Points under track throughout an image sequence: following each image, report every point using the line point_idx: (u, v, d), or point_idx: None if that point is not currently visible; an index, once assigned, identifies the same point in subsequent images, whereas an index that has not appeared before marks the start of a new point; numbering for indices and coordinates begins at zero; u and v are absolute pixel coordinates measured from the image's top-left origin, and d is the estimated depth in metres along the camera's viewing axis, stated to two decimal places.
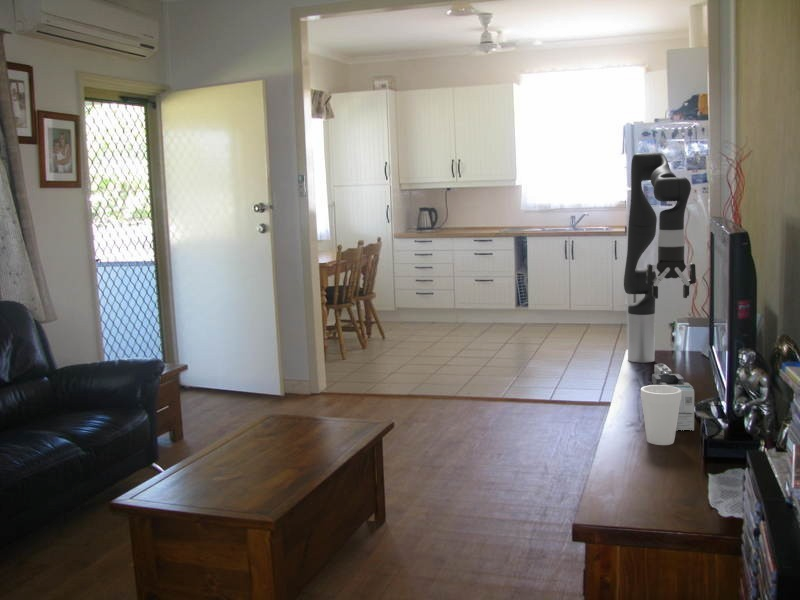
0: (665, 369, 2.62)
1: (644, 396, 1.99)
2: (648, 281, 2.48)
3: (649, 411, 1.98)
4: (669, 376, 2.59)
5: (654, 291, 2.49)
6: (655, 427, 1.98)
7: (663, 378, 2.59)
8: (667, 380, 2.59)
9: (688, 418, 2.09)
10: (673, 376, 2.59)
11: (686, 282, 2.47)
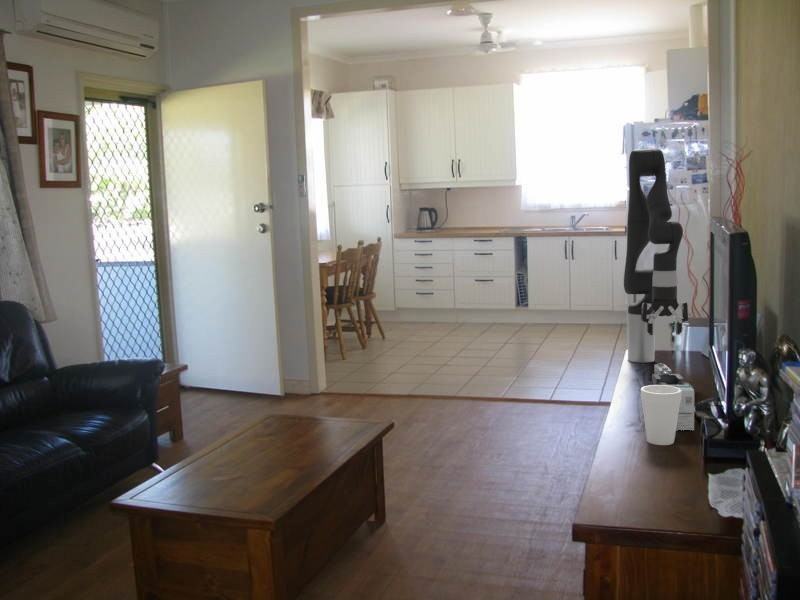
0: (665, 369, 2.62)
1: (644, 396, 1.99)
2: (643, 319, 2.64)
3: (649, 411, 1.98)
4: (669, 376, 2.59)
5: (649, 328, 2.64)
6: (655, 427, 1.98)
7: (663, 378, 2.59)
8: (667, 380, 2.59)
9: (688, 418, 2.09)
10: (673, 376, 2.59)
11: (679, 320, 2.63)
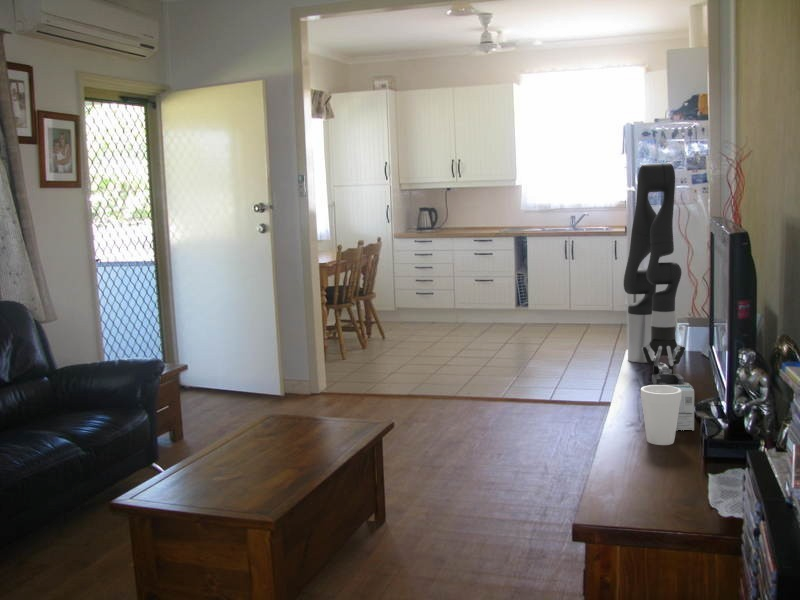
0: (665, 368, 2.62)
1: (644, 396, 1.99)
2: (649, 361, 2.65)
3: (649, 411, 1.98)
4: (669, 376, 2.59)
5: (655, 370, 2.66)
6: (655, 427, 1.98)
7: (663, 378, 2.59)
8: (667, 380, 2.59)
9: (688, 418, 2.09)
10: (673, 376, 2.59)
11: (670, 363, 2.65)
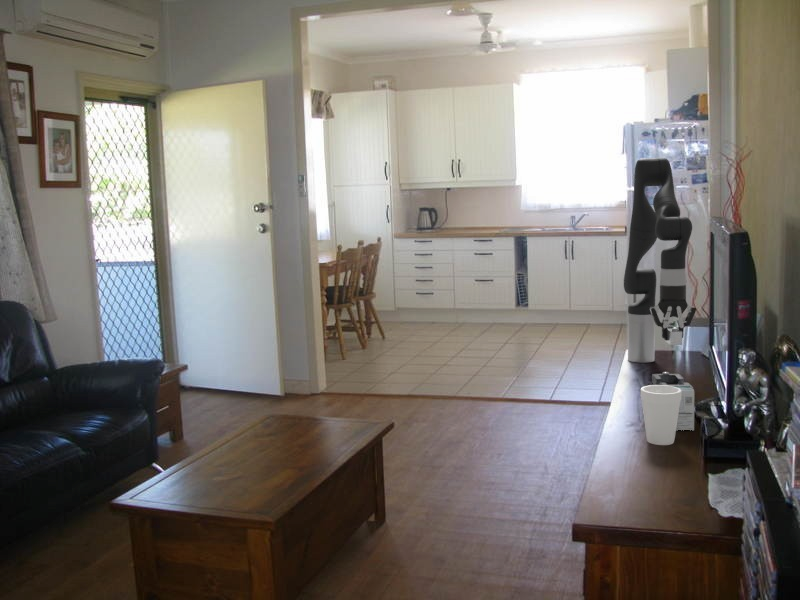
0: (675, 330, 2.45)
1: (644, 396, 1.99)
2: (658, 323, 2.48)
3: (649, 411, 1.98)
4: (669, 376, 2.59)
5: (664, 333, 2.49)
6: (655, 427, 1.98)
7: (663, 378, 2.59)
8: (667, 380, 2.59)
9: (688, 418, 2.09)
10: (673, 376, 2.59)
11: (680, 324, 2.48)
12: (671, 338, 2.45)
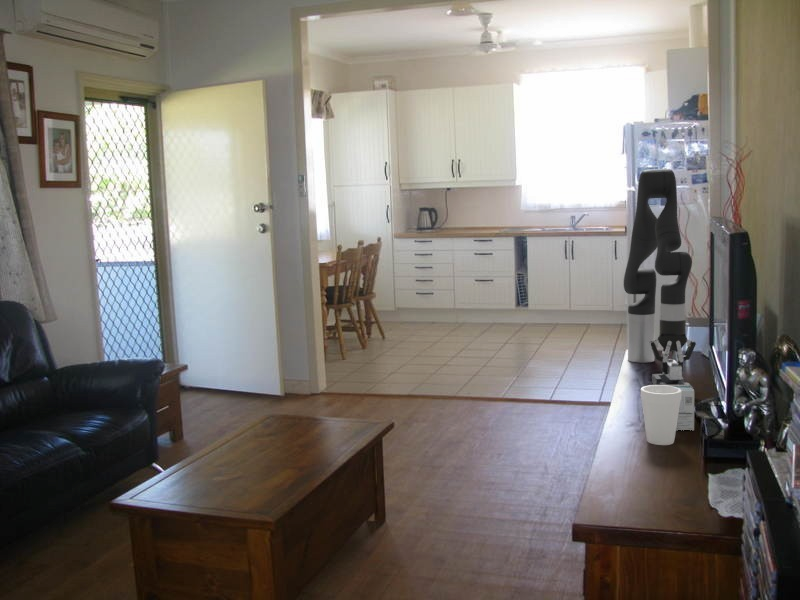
0: (675, 365, 2.47)
1: (644, 396, 1.99)
2: (657, 357, 2.50)
3: (649, 411, 1.98)
4: None
5: (663, 367, 2.50)
6: (655, 427, 1.98)
7: (663, 378, 2.59)
8: (667, 380, 2.59)
9: (688, 418, 2.09)
10: None
11: (680, 359, 2.49)
12: (671, 373, 2.46)
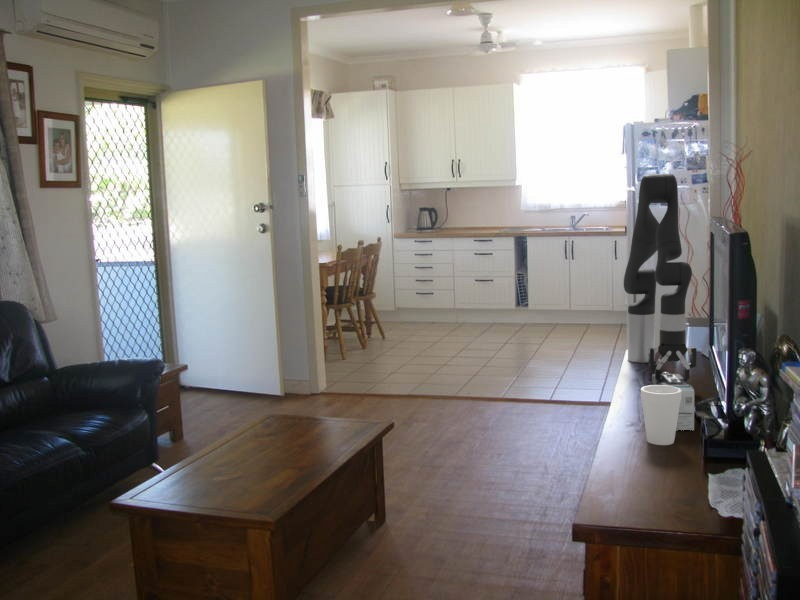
0: (674, 380, 2.47)
1: (644, 396, 1.99)
2: (651, 365, 2.50)
3: (649, 411, 1.98)
4: None
5: (657, 374, 2.51)
6: (655, 427, 1.98)
7: None
8: None
9: (688, 418, 2.09)
10: None
11: (686, 366, 2.49)
12: None
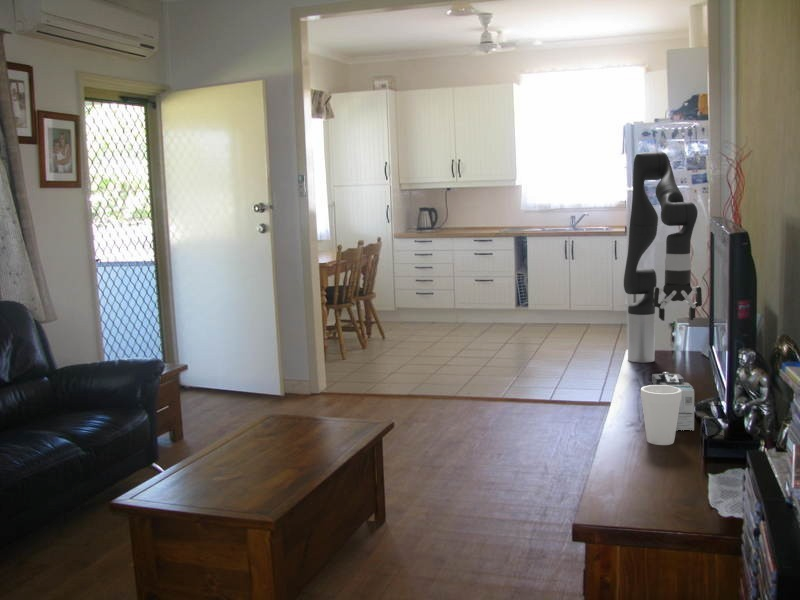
0: (672, 380, 2.47)
1: (644, 396, 1.99)
2: (655, 304, 2.53)
3: (649, 411, 1.98)
4: None
5: (661, 313, 2.54)
6: (655, 427, 1.98)
7: (663, 378, 2.59)
8: None
9: (688, 418, 2.09)
10: None
11: (692, 305, 2.52)
12: None
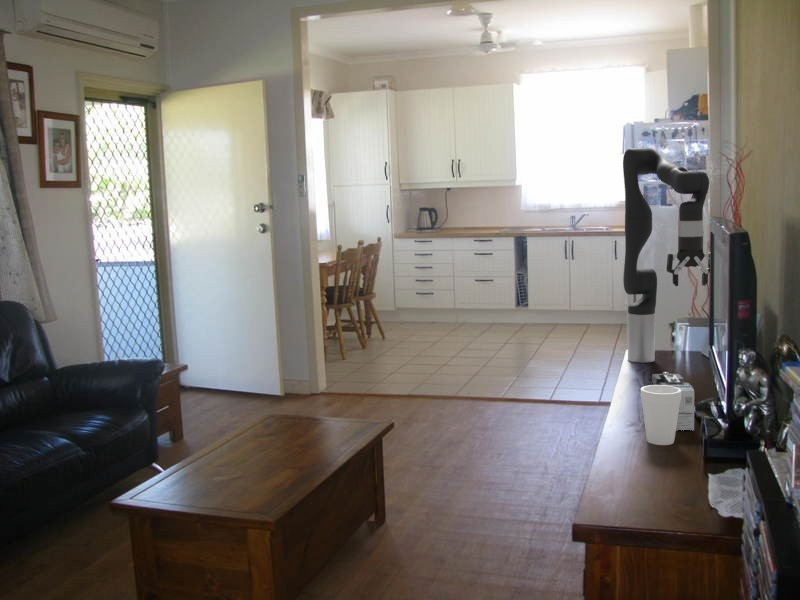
0: (674, 380, 2.47)
1: (644, 396, 1.99)
2: (669, 269, 2.62)
3: (649, 411, 1.98)
4: None
5: (674, 279, 2.63)
6: (655, 427, 1.98)
7: (663, 378, 2.59)
8: None
9: (688, 418, 2.09)
10: None
11: (705, 270, 2.61)
12: None
